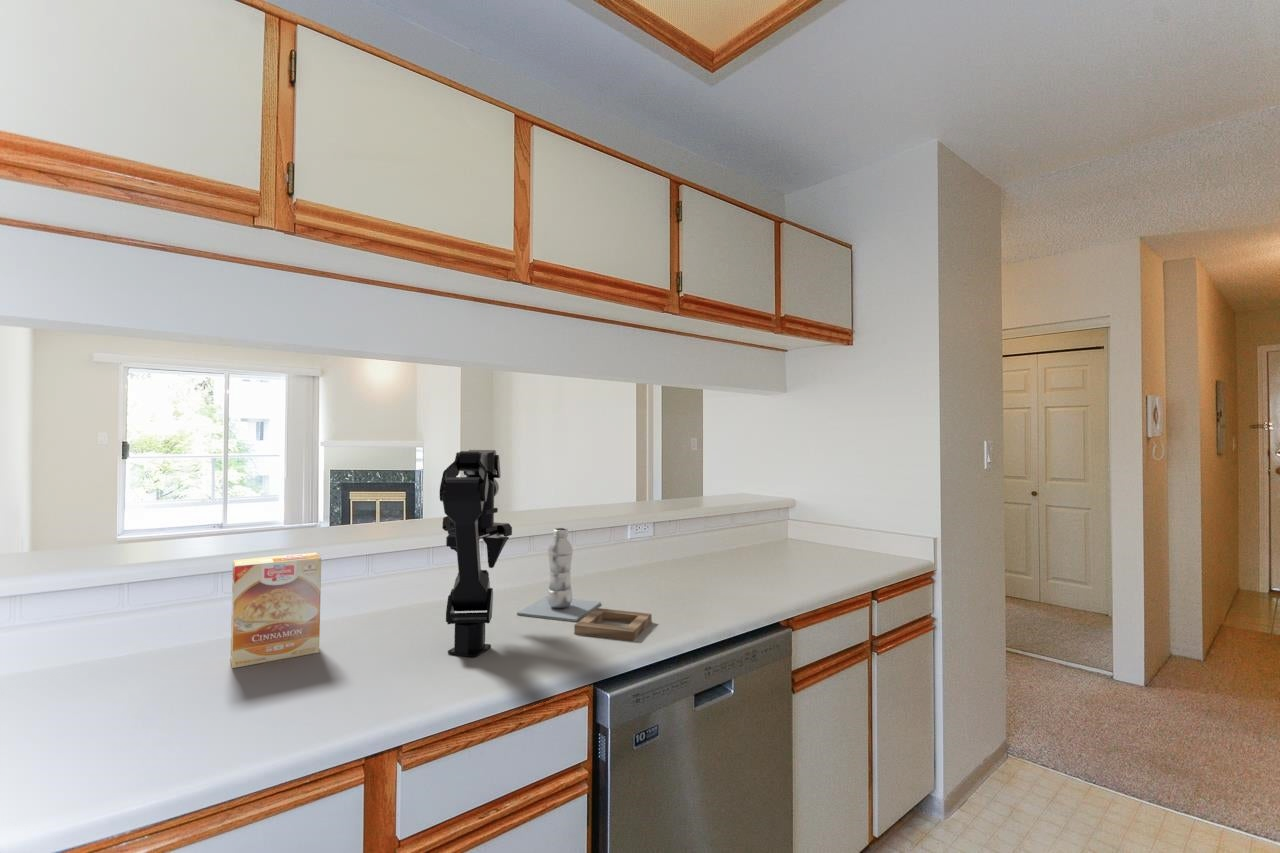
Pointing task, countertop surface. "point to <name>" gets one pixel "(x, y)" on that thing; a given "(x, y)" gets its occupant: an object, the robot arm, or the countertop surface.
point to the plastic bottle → (560, 570)
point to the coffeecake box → (275, 608)
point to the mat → (559, 610)
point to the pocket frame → (630, 632)
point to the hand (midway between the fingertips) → (480, 571)
